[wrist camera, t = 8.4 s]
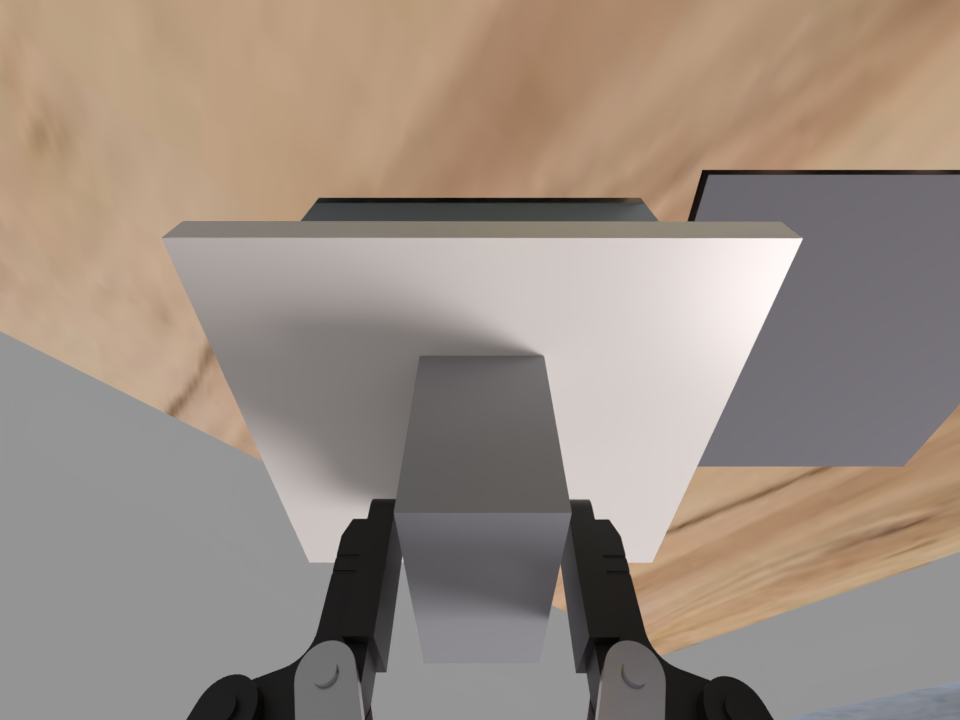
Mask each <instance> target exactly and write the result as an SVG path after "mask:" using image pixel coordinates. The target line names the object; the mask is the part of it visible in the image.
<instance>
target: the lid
mask: <svg viewBox="0 0 960 720" xmlns="http://www.w3.org/2000/svg"><path fill="white" fill-rule="evenodd" d="M802 239H803V238H802V237H801V236H799V235H798V234H797V233H795V232H794V231H793V230H791V229H790V228H789V227H788V226H786V225H785V224H784V223H782V222H649V221H182V222H181V223H180V224H178V225H177V226H176V227H175V228H173V229H172V230H171V231H169V232H168V233H167V234H165V235H164V236H163V237H162V240H163V242H164V244H165V247H166V249H167V251H168V253H169V255H170V258H171V260H172V262H173V264H174V266H175V269H176V271H177V273H178V275H179V277H180V280H181V282H182V284H183V286H184V288H185V291H186V293H187V295H188V297H189V299H190V302H191V304H192V306H193V308H194V310H195V313H196V315H197V317H198V319H199V321H200V324H201V326H202V328H203V330H204V332H205V335H206V337H207V339H208V341H209V343H210V346H211V348H212V350H213V352H214V354H215V356H216V359H217V361H218V363H219V365H220V367H221V370H222V372H223V374H224V376H225V378H226V381H227V383H228V385H229V387H230V389H231V392H232V394H233V396H234V398H235V400H236V403H237V405H238V407H239V409H240V411H241V414H242V416H243V418H244V420H245V422H246V425H247V427H248V429H249V431H250V433H251V436H252V438H253V440H254V442H255V444H256V447H257V449H258V451H259V453H260V455H261V458H262V460H263V462H264V464H265V466H266V469H267V471H268V473H269V475H270V477H271V480H272V482H273V484H274V486H275V488H276V491H277V493H278V495H279V497H280V499H281V502H282V504H283V506H284V508H285V510H286V513H287V515H288V517H289V519H290V521H291V524H292V526H293V528H294V530H295V532H296V534H297V537H298V539H299V541H300V543H301V545H302V548H303V550H304V552H305V554H306V556H307V559H308V561H309V563H335V559H336V558H337V551H338V547H339V543H340V539H341V536H342V534H343V533H344V531H345V530H346V528H347V527H348V525H349V524H350V522H351V521H352V520H353V519H367V518H368V513H369V508H370V504H371V501H372V500H373V499H396V502H395V508H394V517H395V522H396V527H397V532H398V537H399V542H400V546H401V551H402V563H404V566H405V571H406V576H407V581H408V586H409V591H410V596H411V601H412V606H413V611H414V616H415V621H416V626H417V631H418V636H419V641H420V646H421V650H422V655H423V660H424V663H539V660H540V656H541V651H542V647H543V642H544V638H545V633H546V628H547V624H548V619H549V615H550V610H551V606H552V601H553V597H554V592H555V587H556V583H557V578H558V574H559V569H560V565H561V560H562V556H563V551H564V546H565V542H566V537H567V533H568V528H569V524H570V519H571V515H572V511H571V505H570V500H569V499H589V500H590V502H591V504H592V508H593V513H594V517H595V519H609V520H610V521H611V523H612V524H613V526H614V527H615V529H616V530H617V531H618V533H619V534H620V536H621V539H622V543H623V547H624V551H625V554H626V559H627V562H628V563H652V562H653V560H654V558H655V556H656V554H657V552H658V549H659V547H660V545H661V543H662V541H663V539H664V536H665V534H666V532H667V530H668V528H669V526H670V524H671V521H672V519H673V517H674V515H675V513H676V511H677V509H678V506H679V504H680V502H681V500H682V498H683V496H684V493H685V491H686V489H687V487H688V485H689V483H690V481H691V478H692V476H693V474H694V472H695V470H696V468H697V465H698V463H699V461H700V459H701V457H702V455H703V453H704V450H705V448H706V446H707V444H708V442H709V440H710V437H711V435H712V433H713V431H714V429H715V427H716V425H717V422H718V420H719V418H720V416H721V414H722V412H723V409H724V407H725V405H726V403H727V401H728V399H729V397H730V394H731V392H732V390H733V388H734V386H735V384H736V382H737V379H738V377H739V375H740V373H741V371H742V369H743V366H744V364H745V362H746V360H747V358H748V356H749V354H750V351H751V349H752V347H753V345H754V343H755V341H756V338H757V336H758V334H759V332H760V330H761V328H762V326H763V323H764V321H765V319H766V317H767V315H768V313H769V310H770V308H771V306H772V304H773V302H774V300H775V298H776V295H777V293H778V291H779V289H780V287H781V285H782V282H783V280H784V278H785V276H786V274H787V272H788V270H789V267H790V265H791V263H792V261H793V259H794V257H795V255H796V252H797V250H798V248H799V246H800V244H801V242H802Z"/></svg>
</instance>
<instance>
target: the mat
mask: <svg viewBox="0 0 960 720" xmlns="http://www.w3.org/2000/svg"><path fill="white" fill-rule="evenodd" d="M687 222H782V223H784V224H785V225H786V226H788V227H789V228H790V229H791V230H793V231H794V232H795V233H797V234H798V235H799V236H801V237H802V238H803V239H802V242H801V244H800V246H799V248H798V250H797V252H796V255H795V257H794V259H793V261H792V263H791V265H790V267H789V270H788V272H787V274H786V276H785V278H784V280H783V282H782V285H781V287H780V289H779V291H778V293H777V295H776V298H775V300H774V302H773V304H772V306H771V308H770V310H769V313H768V315H767V317H766V319H765V321H764V323H763V326H762V328H761V330H760V332H759V334H758V336H757V338H756V341H755V343H754V345H753V347H752V349H751V351H750V354H749V356H748V358H747V360H746V362H745V364H744V366H743V369H742V371H741V373H740V375H739V377H738V379H737V382H736V384H735V386H734V388H733V390H732V392H731V394H730V397H729V399H728V401H727V403H726V405H725V407H724V409H723V412H722V414H721V416H720V418H719V420H718V422H717V425H716V427H715V429H714V431H713V433H712V435H711V437H710V440H709V442H708V444H707V446H706V448H705V450H704V453H703V455H702V457H701V459H700V461H699V463H698V465H697V467H853V466H904V465H905V464H906V463H907V462H908V461H909V460H910V459H911V458H912V457H913V455H914V454H915V453H916V452H917V451H918V450H919V449H920V448H921V447H922V446H923V444H924V443H925V442H926V441H927V440H928V439H929V438H930V437H931V436H932V434H933V433H934V432H935V431H936V430H937V429H938V428H939V427H940V426H941V424H942V423H943V422H944V421H945V420H946V419H947V418H948V417H949V416H950V415H951V413H952V412H953V411H954V410H955V409H956V408H957V407H958V406H959V405H960V170H702V173H701V176H700V179H699V183H698V186H697V190H696V193H695V197H694V200H693V204H692V207H691V210H690V214H689V217H688V221H687Z"/></svg>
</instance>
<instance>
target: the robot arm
mask: <svg viewBox="0 0 960 720" xmlns="http://www.w3.org/2000/svg"><path fill="white" fill-rule="evenodd" d="M569 500H570V505H571V511H572V515H571V519H570V524H569V528H568V533H567V537H566V542H565V546H564V551H563V556H562V560H561V571H562V578H563V585H564V592H565V599H566V606H567V613H568V620H569V627H570V635H571V642H572V649H573V656H574V663H575V670H576V673H587V680H588V686H589V692H590V693H589V696H588V701H587V709H586V716H585V720H774V719H773V717H772V716H771V714H770V713H769V711H768V709H767V708H766V706H765V704H764V703H763V701H762V700H761V698H760V697H759V696H758V695H757V694H756V692H755V691H754V690H753V689H752V688H750V687H749V686H748V685H747V684H745V683H744V682H742V681H740V680H738V679H736V678H733V677H729V676H719V677H716V678H714V679H712V680H708V679H705V678H703V677H700V676H697V675H695V674H692V673H689V672H687V671H684V670H681V669H679V668H677V667H674V666H673V665H671V664H669V663H668V662H667V661H665V660H664V659H663V658H662V657H661V656H660V655H659V654H658V653H657V652H656V651H655V649H654V648H653V647H652V645H651V643H650V642H649V639H648V637H647V635H646V632H645V628H644V624H643V620H642V616H641V612H640V609H639V605H638V601H637V597H636V593H635V589H634V585H633V581H632V578H631V575H630V570H629V566H628V562H627V559H626V554H625V551H624V547H623V543H622V539H621V536H620V534H619V533H618V531H617V530H616V529H615V527H614V526H613V524H612V523H611V521H610V520H609V519H595V517H594V513H593V508H592V504H591V502H590V500H589V499H569ZM395 502H396V499H373V500H372V501H371V504H370V508H369V513H368V518H367V519H353V520H352V521H351V522H350V524H349V525H348V527H347V528H346V530H345V531H344V533H343V534H342V536H341V539H340V543H339V547H338V551H337V558H336V559H335V563H334V567H333V573H332V575H331V579H330V583H329V587H328V591H327V594H326V598H325V602H324V606H323V610H322V614H321V618H320V622H319V626H318V630H317V633H316V636H315V638H314V640H313V642H312V644H311V645H310V647H309V648H308V650H307V651H306V652H305V653H304V654H303V655H302V656H301V657H300V658H299V659H298V660H296V661H295V662H294V663H292V664H290V665H289V666H286V667H284V668H282V669H279V670H276V671H274V672H271V673H268V674H266V675H263V676H260V677H257V678H255V679H252V680H251V679H250V678H249V677H247V676H245V675H241V674H233V675H228V676H226V677H223V678H221V679H219V680H217V681H216V682H215V683H213V684H212V685H211V686H210V687H209V688H208V689H207V690H206V691H205V692H204V693H203V694H202V696H201V697H200V698H199V700H198V701H197V703H196V704H195V706H194V708H193V709H192V711H191V713H190V714H189V716H188V718H187V719H186V720H375V716H374V709H373V701H372V695H373V688H374V682H375V676H376V673H377V672H378V673H379V672H381V673H382V672H383V673H384V672H387V665H388V658H389V650H390V643H391V636H392V629H393V621H394V614H395V607H396V599H397V592H398V585H399V578H400V570H401V563H402V551H401V546H400V542H399V537H398V532H397V527H396V522H395V517H394V508H395Z"/></svg>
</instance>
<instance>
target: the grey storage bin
mask: <svg viewBox="0 0 960 720" xmlns="http://www.w3.org/2000/svg"><path fill="white" fill-rule="evenodd" d="M301 221H649V222H659V221H658V219H657V218H656V217H655V216H654V214H653V213H652V212H651V210H650V209H649V208H648V207H647V205H646V204H645V203H644V201H643V200H642V199H641V198H318V199H317V201H316V202H315V203H314V204H313V206H312V207H311V208H310V210H309V211H308V212H307V213H306V215H305V216H304V217H303V219H302V220H301Z"/></svg>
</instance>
